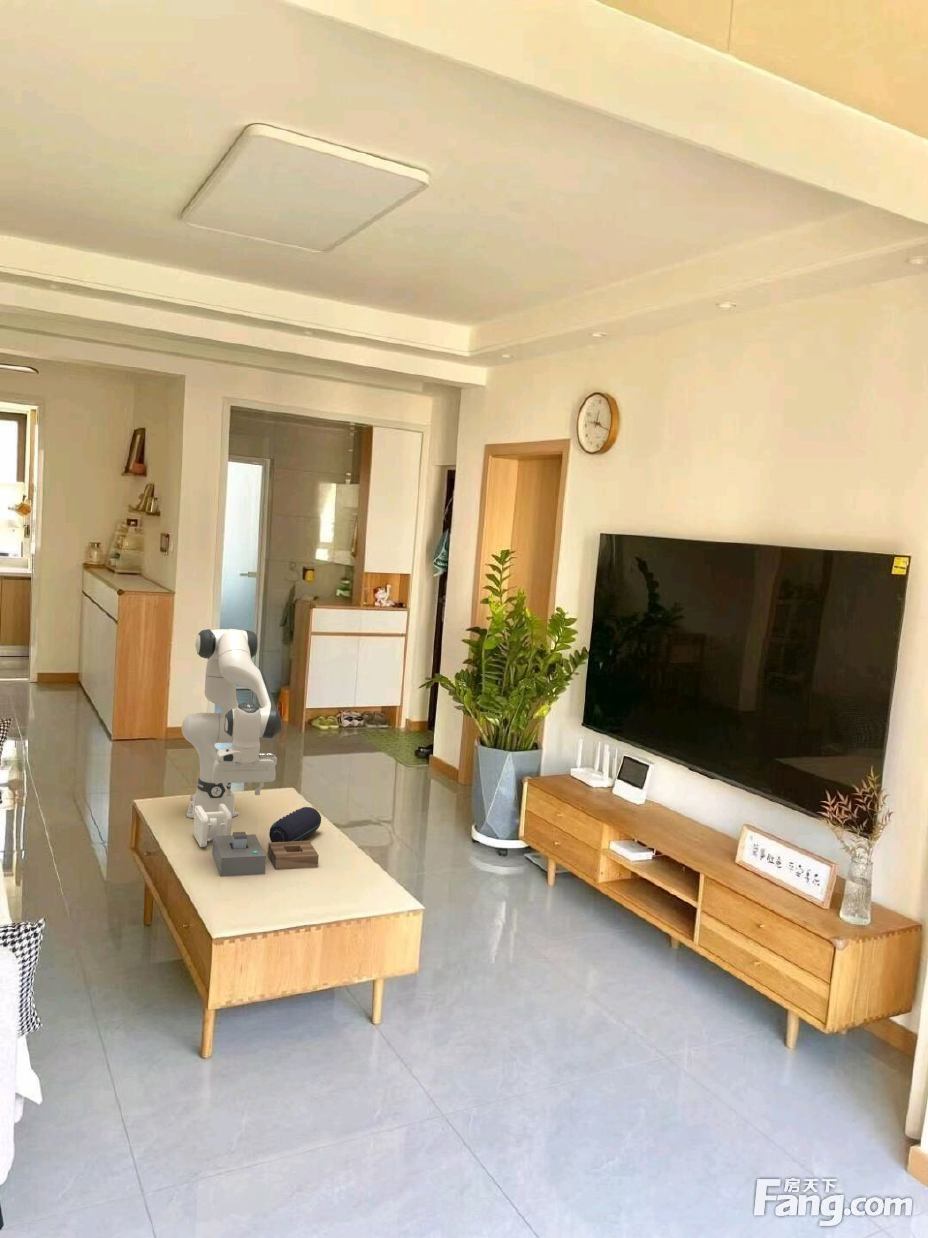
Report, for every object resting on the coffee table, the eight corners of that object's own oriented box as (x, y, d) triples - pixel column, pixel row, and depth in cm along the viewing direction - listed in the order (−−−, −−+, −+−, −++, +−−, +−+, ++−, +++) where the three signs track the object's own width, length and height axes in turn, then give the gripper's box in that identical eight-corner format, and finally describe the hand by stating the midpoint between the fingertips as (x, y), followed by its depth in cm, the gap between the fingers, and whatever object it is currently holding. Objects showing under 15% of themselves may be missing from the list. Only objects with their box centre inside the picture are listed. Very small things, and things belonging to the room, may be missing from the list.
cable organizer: (231, 848, 328) (233, 815, 326) (199, 850, 323) (201, 817, 322) (221, 833, 341) (223, 802, 340) (191, 835, 336) (193, 803, 335)
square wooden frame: (267, 854, 326) (268, 842, 325) (308, 851, 331) (309, 840, 330) (275, 869, 313) (276, 857, 312) (317, 867, 318) (318, 855, 318)
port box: (212, 853, 322) (213, 835, 321) (254, 851, 327) (255, 833, 326) (220, 876, 303) (221, 856, 302) (264, 873, 308) (266, 854, 308)
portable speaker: (298, 828, 354) (300, 802, 353) (323, 833, 351) (325, 807, 350) (263, 848, 330) (265, 820, 329) (288, 854, 327) (290, 826, 326)
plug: (230, 861, 316) (232, 832, 315) (243, 861, 318) (245, 831, 316) (232, 866, 312) (234, 836, 311) (245, 865, 314) (247, 836, 313)
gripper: (275, 750, 318) (272, 791, 320) (212, 751, 310) (209, 793, 312) (279, 756, 312) (276, 797, 314) (214, 756, 304) (212, 799, 306)
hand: (242, 795), depth 313 cm, fingers open, 8 cm apart
